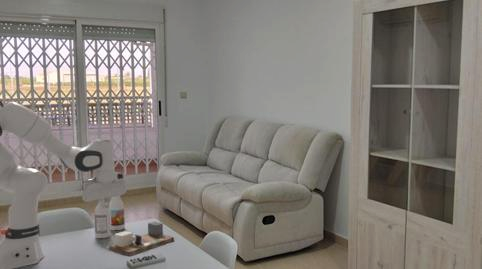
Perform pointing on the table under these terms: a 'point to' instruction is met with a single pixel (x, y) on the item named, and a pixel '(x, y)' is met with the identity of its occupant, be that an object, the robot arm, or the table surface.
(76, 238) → the table surface
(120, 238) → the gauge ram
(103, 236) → the bath foam
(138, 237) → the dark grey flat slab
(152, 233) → the dark grey cube
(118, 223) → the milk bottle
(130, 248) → the wooden tray
